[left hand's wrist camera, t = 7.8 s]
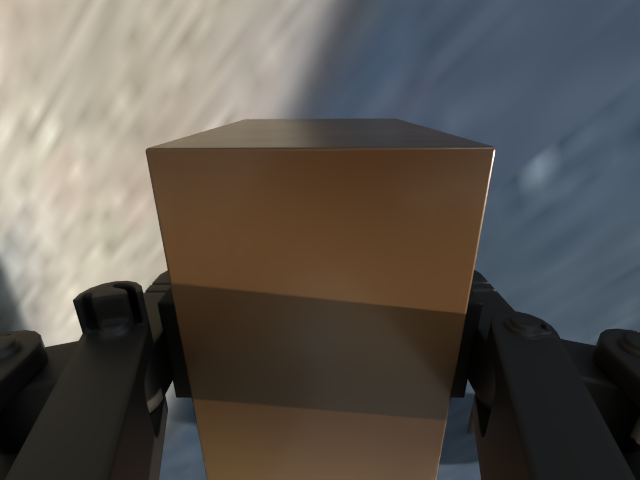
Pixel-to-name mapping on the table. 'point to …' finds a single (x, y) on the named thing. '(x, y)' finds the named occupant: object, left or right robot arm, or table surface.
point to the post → (321, 290)
